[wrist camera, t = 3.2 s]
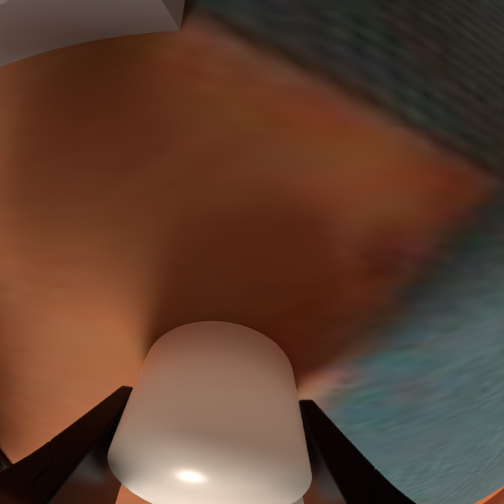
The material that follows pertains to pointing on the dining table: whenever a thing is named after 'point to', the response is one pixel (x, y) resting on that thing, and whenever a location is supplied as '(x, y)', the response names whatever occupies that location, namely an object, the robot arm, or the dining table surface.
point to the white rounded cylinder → (213, 421)
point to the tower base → (78, 23)
